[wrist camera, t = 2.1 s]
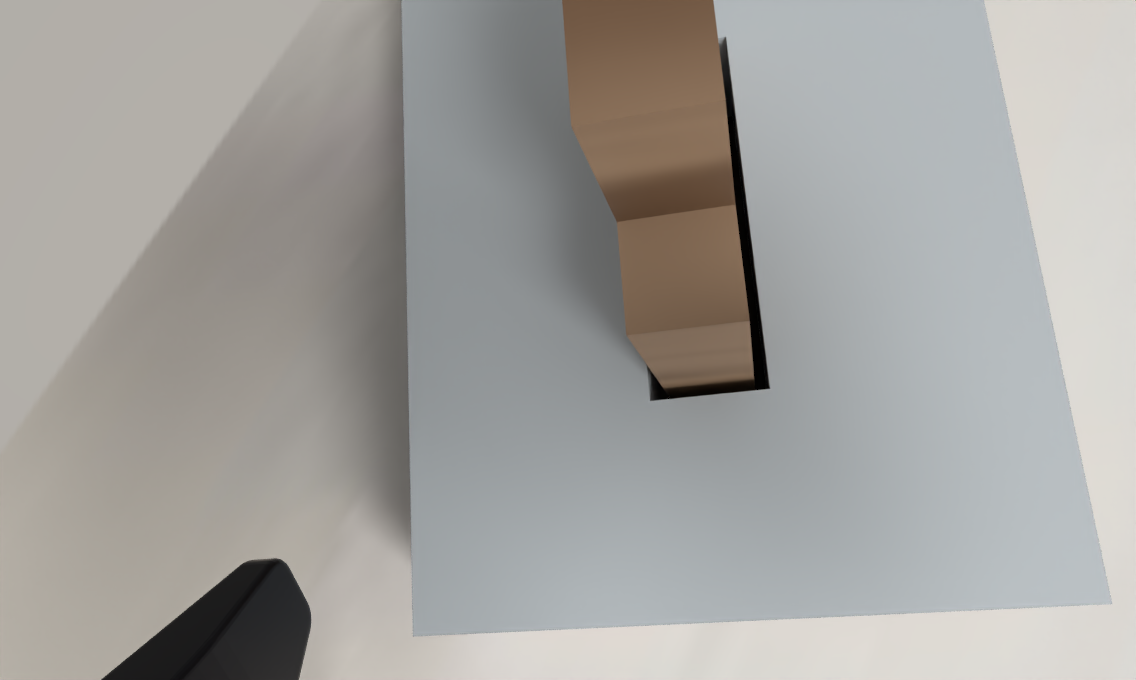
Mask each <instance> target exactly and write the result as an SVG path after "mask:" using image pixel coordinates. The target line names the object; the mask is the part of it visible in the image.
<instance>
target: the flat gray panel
mask: <svg viewBox="0 0 1136 680" xmlns="http://www.w3.org/2000/svg"><path fill="white" fill-rule="evenodd" d="M713 1H714V9H715V18H716V26H717V34H718V42H719V50H720V58H721V66H722V75H723V83H724V91H725V99H726V109H727V117H730V116H732V117H733V125H734V133H735V141H736V149H737V158H738V166H739V174H740V182H741V190H742V198H743V206H744V214H745V222H746V230H747V238H748V246H749V254H750V262H751V270H752V278H753V286H754V294H755V303H756V311H757V319H758V327H759V335H760V343H761V351H762V359H763V367H764V375H765V383H766V389H764V390H754V391H744V392H734V393H724V394H714V395H704V396H695V397H685V398H675V399H667V393H666V391H665V390H664V388H663V387H662V386H661V384H660V383H659V381H658V380H657V378H656V377H655V376H654V374H653V373H652V371H651V370H650V368H649V367H648V366H647V364H646V363H645V361H644V360H643V358H642V357H641V356H640V354H639V353H638V351H637V350H636V348H635V347H634V346H633V344H632V343H631V341H630V340H629V338H628V337H627V336H626V326H625V314H624V302H623V290H622V278H621V266H620V255H619V243H618V231H617V221H616V219H615V217H614V215H613V213H612V211H611V209H610V207H609V205H608V203H607V201H606V198H605V196H604V194H603V192H602V190H601V188H600V186H599V184H598V182H597V180H596V177H595V175H594V173H593V171H592V169H591V167H590V165H589V163H588V161H587V159H586V157H585V154H584V152H583V150H582V148H581V146H580V144H579V142H578V140H577V138H576V136H575V134H574V131H573V129H572V127H571V117H570V103H569V89H568V75H567V62H566V48H565V34H564V20H563V6H562V0H401V7H402V61H403V116H404V171H405V226H406V281H407V336H408V391H409V446H410V500H411V555H412V610H413V636H433V635H455V634H476V633H498V632H519V631H541V630H563V629H584V628H606V627H627V626H649V625H670V624H692V623H713V622H735V621H757V620H778V619H800V618H821V617H843V616H864V615H886V614H907V613H929V612H951V611H972V610H994V609H1015V608H1037V607H1058V606H1080V605H1102V604H1112V600H1111V595H1110V591H1109V586H1108V581H1107V577H1106V572H1105V567H1104V563H1103V558H1102V553H1101V549H1100V544H1099V539H1098V534H1097V530H1096V525H1095V520H1094V516H1093V511H1092V506H1091V502H1090V497H1089V492H1088V488H1087V483H1086V478H1085V473H1084V469H1083V464H1082V459H1081V455H1080V450H1079V445H1078V441H1077V436H1076V431H1075V427H1074V422H1073V417H1072V412H1071V408H1070V403H1069V398H1068V394H1067V389H1066V384H1065V380H1064V375H1063V370H1062V365H1061V361H1060V356H1059V351H1058V347H1057V342H1056V337H1055V333H1054V328H1053V323H1052V319H1051V314H1050V309H1049V304H1048V300H1047V295H1046V290H1045V286H1044V281H1043V276H1042V272H1041V267H1040V262H1039V258H1038V253H1037V248H1036V243H1035V239H1034V234H1033V229H1032V225H1031V220H1030V215H1029V211H1028V206H1027V201H1026V197H1025V192H1024V187H1023V182H1022V178H1021V173H1020V168H1019V164H1018V159H1017V154H1016V150H1015V145H1014V140H1013V135H1012V131H1011V126H1010V121H1009V117H1008V112H1007V107H1006V103H1005V98H1004V93H1003V89H1002V84H1001V79H1000V74H999V70H998V65H997V60H996V56H995V51H994V46H993V42H992V37H991V32H990V28H989V23H988V18H987V13H986V9H985V4H984V0H713Z"/></svg>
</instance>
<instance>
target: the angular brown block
mask: <svg viewBox="0 0 1136 680" xmlns="http://www.w3.org/2000/svg"><path fill="white" fill-rule="evenodd" d="M562 6H563V20H564V34H565V48H566V62H567V75H568V89H569V103H570V117H571V127H572V129H573V131H574V134H575V136H576V138H577V140H578V142H579V144H580V146H581V148H582V150H583V152H584V154H585V157H586V159H587V161H588V163H589V165H590V167H591V169H592V171H593V173H594V175H595V177H596V180H597V182H598V184H599V186H600V188H601V190H602V192H603V194H604V196H605V198H606V201H607V203H608V205H609V207H610V209H611V211H612V213H613V215H614V217H615V219H616V221H617V231H618V243H619V255H620V266H621V278H622V290H623V302H624V314H625V326H626V336H627V337H628V338H629V340H630V341H631V343H632V344H633V346H634V347H635V348H636V350H637V351H638V353H639V354H640V356H641V357H642V358H643V360H644V361H645V363H646V364H647V366H648V367H649V368H650V370H651V371H652V373H653V374H654V376H655V377H656V378H657V380H658V381H659V383H660V384H661V386H662V387H663V388H664V390H665V391H666V393H667V394H668V396H669V397H670V398H671V399H675V398H685V397H695V396H704V395H714V394H724V393H734V392H744V391H754V390H755V382H754V369H753V357H752V344H751V332H750V320H749V312H748V303H747V295H746V287H745V279H744V270H743V262H742V254H741V246H740V238H739V229H738V221H737V213H736V205H735V194H734V184H733V173H732V162H731V152H730V141H729V131H728V120H727V109H726V99H725V91H724V83H723V75H722V66H721V58H720V50H719V42H718V34H717V26H716V18H715V9H714V1H713V0H562Z"/></svg>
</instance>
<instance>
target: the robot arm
mask: <svg viewBox="0 0 1136 680" xmlns="http://www.w3.org/2000/svg"><path fill="white" fill-rule="evenodd" d="M310 628H311V612H310V608H309V605H308V602H307V601H306V599H305V597H304V595H303V593H302V591H301V589H300V587H299V585H298V584H297V582H296V580H295V578H294V576H293V574H292V572H291V570H290V568H289V567H288V565H287V564H286V563H285V562H284V561H282V560H281V559H277V558H274V559H260V560H251V561H247V562H245V563H243V564H242V565H240V566H239V567H238V568H237V569H235V570H234V571H233V572H232V573H231V574H229V575H228V576H227V577H226V578H224V579H223V580H222V581H221V582H220V583H218V584H217V585H216V586H215V587H214V588H212V589H211V590H210V591H209V592H207V593H206V594H205V595H204V596H203V597H201V598H200V599H199V600H198V601H196V602H195V603H194V604H193V605H192V606H190V607H189V608H188V609H187V610H186V611H184V612H183V613H182V614H181V615H179V616H178V617H177V618H176V619H175V620H173V621H172V622H171V623H170V624H168V625H167V626H166V627H165V628H164V629H162V630H161V631H160V632H159V633H158V634H156V635H155V636H154V637H153V638H151V639H150V640H149V641H148V642H147V643H145V644H144V645H143V646H142V647H140V648H139V649H138V650H137V651H136V652H134V653H133V654H132V655H131V656H129V657H128V658H127V659H126V660H125V661H123V662H122V663H121V664H120V665H118V666H117V667H116V668H115V669H114V670H112V671H111V672H110V673H109V674H108V675H106V676H105V677H104V678H103V679H101V680H299V677H300V672H301V668H302V664H303V659H304V655H305V651H306V646H307V642H308V637H309V633H310Z"/></svg>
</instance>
